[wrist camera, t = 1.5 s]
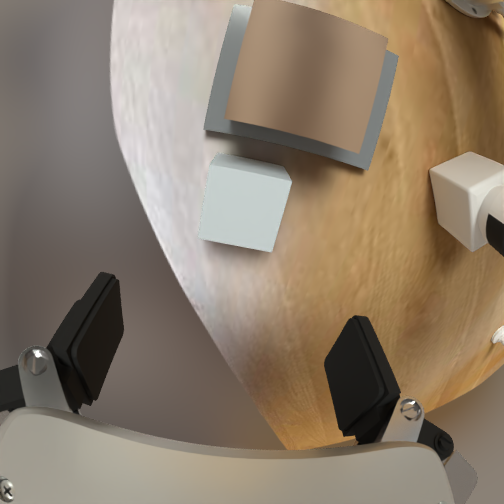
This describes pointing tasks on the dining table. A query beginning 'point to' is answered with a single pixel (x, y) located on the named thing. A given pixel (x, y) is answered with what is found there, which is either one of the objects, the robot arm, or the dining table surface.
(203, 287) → the dining table surface
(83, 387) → the robot arm
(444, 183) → the medicine bottle
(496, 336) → the chess piece
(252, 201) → the blue-grey block
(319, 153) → the slate board
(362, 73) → the walnut block
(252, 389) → the dining table surface
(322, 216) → the dining table surface
